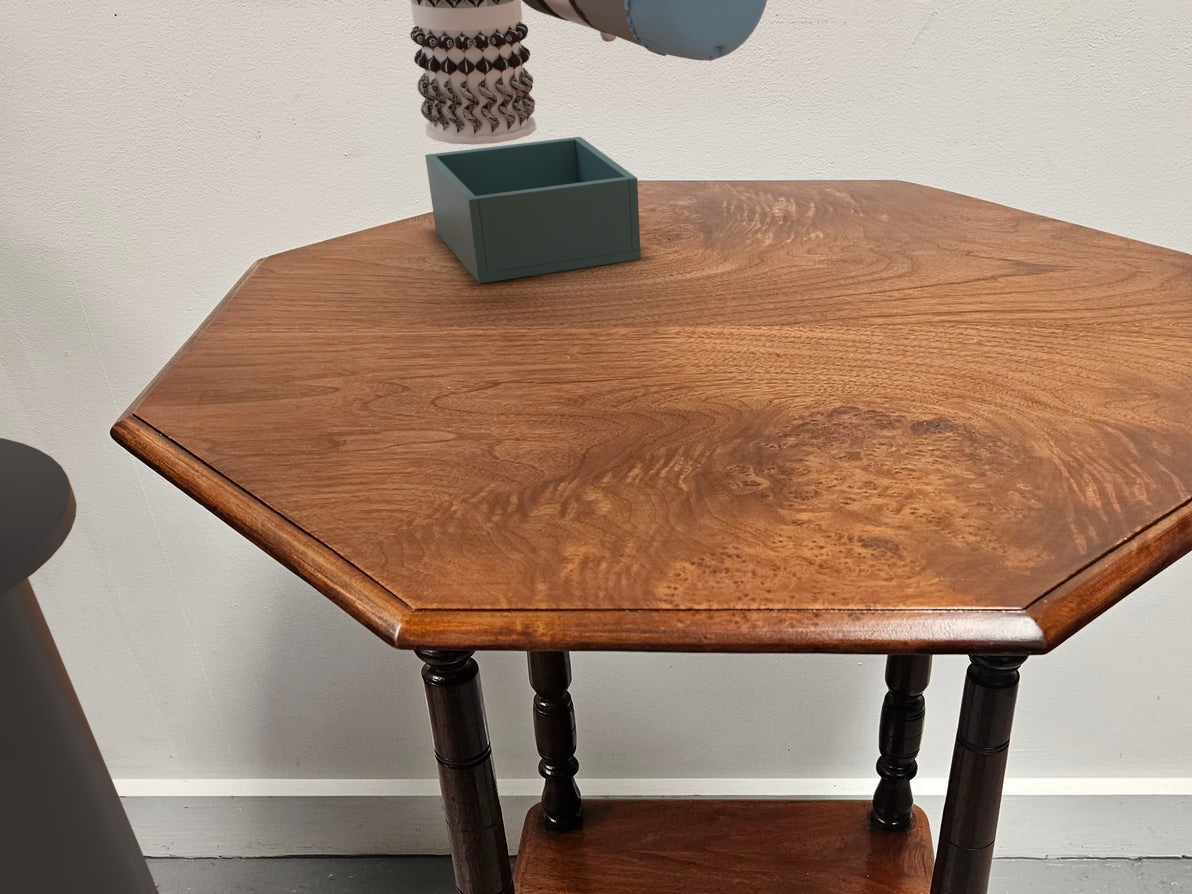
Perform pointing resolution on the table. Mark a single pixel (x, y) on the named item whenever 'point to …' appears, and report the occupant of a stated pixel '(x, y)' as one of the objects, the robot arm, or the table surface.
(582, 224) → the bin
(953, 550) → the table surface
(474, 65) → the bracelet display cylinder
